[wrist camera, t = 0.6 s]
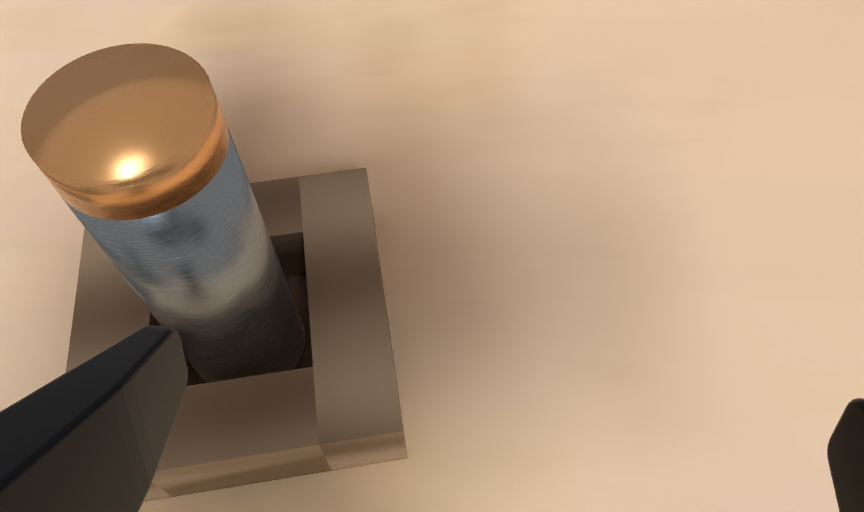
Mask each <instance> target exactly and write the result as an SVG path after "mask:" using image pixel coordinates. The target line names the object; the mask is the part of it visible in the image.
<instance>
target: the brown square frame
mask: <svg viewBox="0 0 864 512" xmlns="http://www.w3.org/2000/svg"><path fill="white" fill-rule="evenodd" d="M250 187H251V189H252V192H253V194H254V197H255V200H256V202H257V205H258V207H259V210H260V213H261V215H262V218H263V220H264V223H265V226H266V228H267V231H268V233H269V236H270V239H271V241H272V244H273V246H274V249H275V252H276V254H277V257H278V259H279V262H280V265H281V267H282V270H283V272H284V275H285V276H292V275H299V274H306V279H307V292H308V306H309V319H310V333H311V347H312V360H313V367H308V368H301V369H295V370H288V371H282V372H275V373H269V374H262V375H256V376H249V377H243V378H236V379H230V380H223V381H217V382H210V383H204V384H197V385H191V386H186V390H185V392H184V395H183V398H182V401H181V404H180V406H179V409H178V412H177V415H176V418H175V420H174V423H173V426H172V429H171V432H170V434H169V437H168V440H167V443H166V445H165V448H164V451H163V454H162V457H161V459H160V462H159V465H158V468H157V470H156V473H155V476H154V478H153V481H152V483H151V486H150V488H149V490H148V492H147V494H146V497H145V499H144V501H148V500H154V499H160V498H166V497H173V496H179V495H185V494H191V493H197V492H203V491H209V490H215V489H221V488H227V487H233V486H239V485H245V484H252V483H258V482H264V481H270V480H276V479H282V478H288V477H294V476H300V475H306V474H312V473H318V472H324V471H331V470H337V469H343V468H349V467H355V466H361V465H367V464H373V463H379V462H385V461H391V460H397V459H403V458H407V453H406V446H405V439H404V432H403V425H402V418H401V411H400V404H399V396H398V389H397V382H396V375H395V368H394V361H393V354H392V347H391V340H390V333H389V326H388V319H387V311H386V304H385V297H384V290H383V283H382V276H381V269H380V262H379V255H378V248H377V241H376V233H375V226H374V219H373V212H372V206H371V199H370V192H369V186H368V179H367V173H366V168H361V169H354V170H346V171H339V172H332V173H324V174H317V175H309V176H302V177H294V178H287V179H280V180H272V181H265V182H257V183H250ZM150 325H153V326H161V325H160V324H159V323H158V321H157V320H156V319H155V317H154V316H153V315H152V313H151V312H150V311H149V310H148V308H147V307H146V306H145V304H144V303H143V302H142V301H141V299H140V298H139V297H138V295H137V294H136V293H135V291H134V290H133V289H132V288H131V286H130V285H129V284H128V282H127V281H126V280H125V279H124V277H123V276H122V275H121V273H120V272H119V271H118V269H117V268H116V267H115V266H114V264H113V263H112V262H111V260H110V259H109V258H108V256H107V255H106V254H105V253H104V251H103V250H102V249H101V247H100V246H99V245H98V244H97V242H96V241H95V240H94V238H93V237H92V236H91V234H90V233H89V232H88V231H87V229H86V228H85V230H84V238H83V245H82V253H81V261H80V269H79V276H78V284H77V292H76V299H75V307H74V315H73V323H72V330H71V338H70V346H69V353H68V361H67V369H66V373H67V372H68V371H70V370H72V369H73V368H75V367H77V366H78V365H80V364H82V363H83V362H85V361H87V360H89V359H90V358H92V357H94V356H95V355H97V354H99V353H100V352H102V351H104V350H105V349H107V348H109V347H110V346H112V345H114V344H115V343H117V342H119V341H121V340H122V339H124V338H126V337H127V336H129V335H131V334H132V333H134V332H136V331H137V330H139V329H141V328H143V327H145V326H150Z"/></svg>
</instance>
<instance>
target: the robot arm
mask: <svg viewBox="0 0 864 512" xmlns="http://www.w3.org/2000/svg"><path fill="white" fill-rule="evenodd" d="M187 381H188V370H187V365H186V361H185V356H184V352H183V347H182V343H181V338H180V335H179V333H178V331H177V330H176V329H174V328H172V327H163V326H153V325H150V326H145V327H143V328H141V329H139V330H137V331H136V332H134V333H132V334H131V335H129V336H127V337H126V338H124V339H122V340H121V341H119V342H117V343H115V344H114V345H112V346H110V347H109V348H107V349H105V350H104V351H102V352H100V353H99V354H97V355H95V356H94V357H92V358H90V359H89V360H87V361H85V362H83V363H82V364H80V365H78V366H77V367H75V368H73V369H72V370H70V371H68V372H67V373H65V374H63V375H62V376H60V377H58V378H56V379H55V380H53V381H51V382H50V383H48V384H46V385H45V386H43V387H41V388H40V389H38V390H36V391H35V392H33V393H31V394H30V395H28V396H26V397H24V398H23V399H21V400H19V401H18V402H16V403H14V404H13V405H11V406H9V407H8V408H6V409H4V410H3V411H1V412H0V512H138V511H139V509H140V507H141V505H142V503H143V501H144V499H145V497H146V494H147V492H148V490H149V488H150V486H151V483H152V481H153V478H154V476H155V473H156V470H157V468H158V465H159V462H160V459H161V457H162V454H163V451H164V448H165V445H166V443H167V440H168V437H169V434H170V432H171V429H172V426H173V423H174V420H175V418H176V415H177V412H178V409H179V406H180V404H181V401H182V398H183V395H184V392H185V390H186V386H187ZM827 455H828V462H829V467H830V471H831V476H832V480H833V485H834V489H835V494H836V498H837V503H838V507H839V512H864V399H863V398H857V399H853V400H852V401H851V402H849V403H848V405H847V407H846V408H845V410H844V412H843V414H842V416H841V418H840V420H839V422H838V424H837V426H836V428H835V430H834V432H833V434H832V436H831V438H830V440H829V443H828V449H827Z"/></svg>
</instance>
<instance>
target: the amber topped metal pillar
mask: <svg viewBox="0 0 864 512" xmlns="http://www.w3.org/2000/svg"><path fill="white" fill-rule="evenodd" d="M21 135H22V141H23V144H24V147H25V149H26V150H27V152H28V154H29V155H30V157H31V158H32V159H33V161H34V162H35V163H36V165H37V166H38V167H39V168H40V170H41V171H42V172H43V174H44V175H45V176H46V178H47V179H48V180H49V181H50V183H51V184H52V185H53V187H54V188H55V189H56V190H57V192H58V193H59V194H60V196H61V197H62V198H63V200H64V201H65V202H66V203H67V205H68V206H69V207H70V209H71V210H72V211H73V212H74V214H75V215H76V216H77V218H78V219H79V220H80V222H81V223H82V224H83V225H84V227H85V228H86V229H87V231H88V232H89V233H90V234H91V236H92V237H93V238H94V240H95V241H96V242H97V244H98V245H99V246H100V247H101V249H102V250H103V251H104V253H105V254H106V255H107V256H108V258H109V259H110V260H111V262H112V263H113V264H114V266H115V267H116V268H117V269H118V271H119V272H120V273H121V275H122V276H123V277H124V279H125V280H126V281H127V282H128V284H129V285H130V286H131V288H132V289H133V290H134V291H135V293H136V294H137V295H138V297H139V298H140V299H141V301H142V302H143V303H144V304H145V306H146V307H147V308H148V310H149V311H150V312H151V313H152V315H153V316H154V317H155V319H156V320H157V321H158V323H159V324H160V325H161V326H163V327H172V328H174V329H176V330H177V331H178V333H179V335H180V338H181V343H182V347H183V352H184V356H185V357H186V359H187V360H188V361H189V363H190V364H191V365H192V367H193V368H194V369H195V370H196V372H197V373H198V374H199V376H200V377H201V378H202V379H203V380H204V382H205V383H210V382H217V381H223V380H230V379H236V378H243V377H249V376H256V375H262V374H269V373H275V372H282V371H288V370H294V369H295V367H296V366H297V364H298V363H299V361H300V359H301V356H302V354H303V351H304V347H305V329H304V325H303V322H302V319H301V317H300V314H299V312H298V309H297V306H296V304H295V301H294V299H293V296H292V293H291V291H290V288H289V285H288V283H287V280H286V278H285V275H284V272H283V270H282V267H281V265H280V262H279V259H278V257H277V254H276V252H275V249H274V246H273V244H272V241H271V239H270V236H269V233H268V231H267V228H266V226H265V223H264V220H263V218H262V215H261V213H260V210H259V207H258V205H257V202H256V200H255V197H254V194H253V192H252V189H251V187H250V184H249V181H248V179H247V176H246V174H245V171H244V168H243V166H242V163H241V160H240V158H239V155H238V153H237V150H236V147H235V145H234V142H233V140H232V137H231V134H230V132H229V129H228V127H227V124H226V121H225V119H224V116H223V114H222V111H221V108H220V106H219V103H218V101H217V98H216V95H215V93H214V90H213V88H212V85H211V82H210V80H209V77H208V75H207V74H206V72H205V70H204V69H203V68H202V66H201V65H200V64H199V63H198V62H197V61H195V60H194V59H193V58H192V57H190V56H188V55H187V54H185V53H183V52H181V51H179V50H176V49H173V48H170V47H166V46H162V45H156V44H125V45H118V46H113V47H108V48H105V49H101V50H97V51H95V52H92V53H89V54H86V55H84V56H82V57H80V58H78V59H76V60H74V61H72V62H70V63H68V64H67V65H65V66H64V67H62V68H61V69H59V70H58V71H56V72H55V73H54V74H53V75H51V76H50V77H49V78H48V79H47V80H46V81H45V82H44V83H43V84H42V85H41V86H40V87H39V88H38V89H37V90H36V92H35V93H34V94H33V96H32V97H31V99H30V101H29V102H28V104H27V106H26V109H25V111H24V114H23V118H22V122H21Z"/></svg>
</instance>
